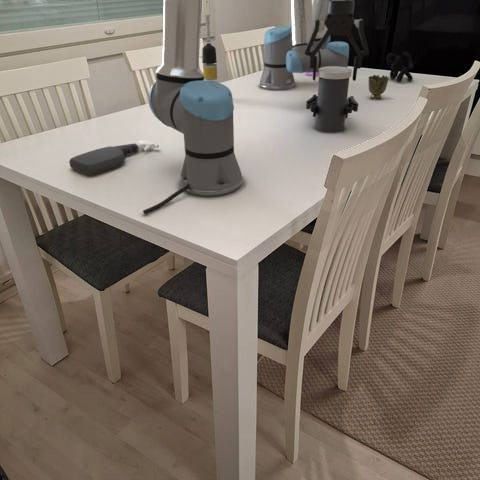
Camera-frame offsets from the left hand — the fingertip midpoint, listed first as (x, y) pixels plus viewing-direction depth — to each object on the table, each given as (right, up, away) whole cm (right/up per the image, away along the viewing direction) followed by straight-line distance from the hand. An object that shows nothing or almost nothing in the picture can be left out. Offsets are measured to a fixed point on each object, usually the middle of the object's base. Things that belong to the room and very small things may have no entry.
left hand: (333, 79), depth 137 cm
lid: (0, +2, -1) cm, 3 cm away
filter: (-40, +7, +42) cm, 59 cm away
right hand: (-1, -10, +1) cm, 10 cm away
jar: (0, -13, +8) cm, 15 cm away
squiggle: (+43, +22, +63) cm, 80 cm away
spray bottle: (-63, -27, -12) cm, 70 cm away
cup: (+25, +6, +38) cm, 46 cm away
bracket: (+9, +32, +79) cm, 86 cm away
